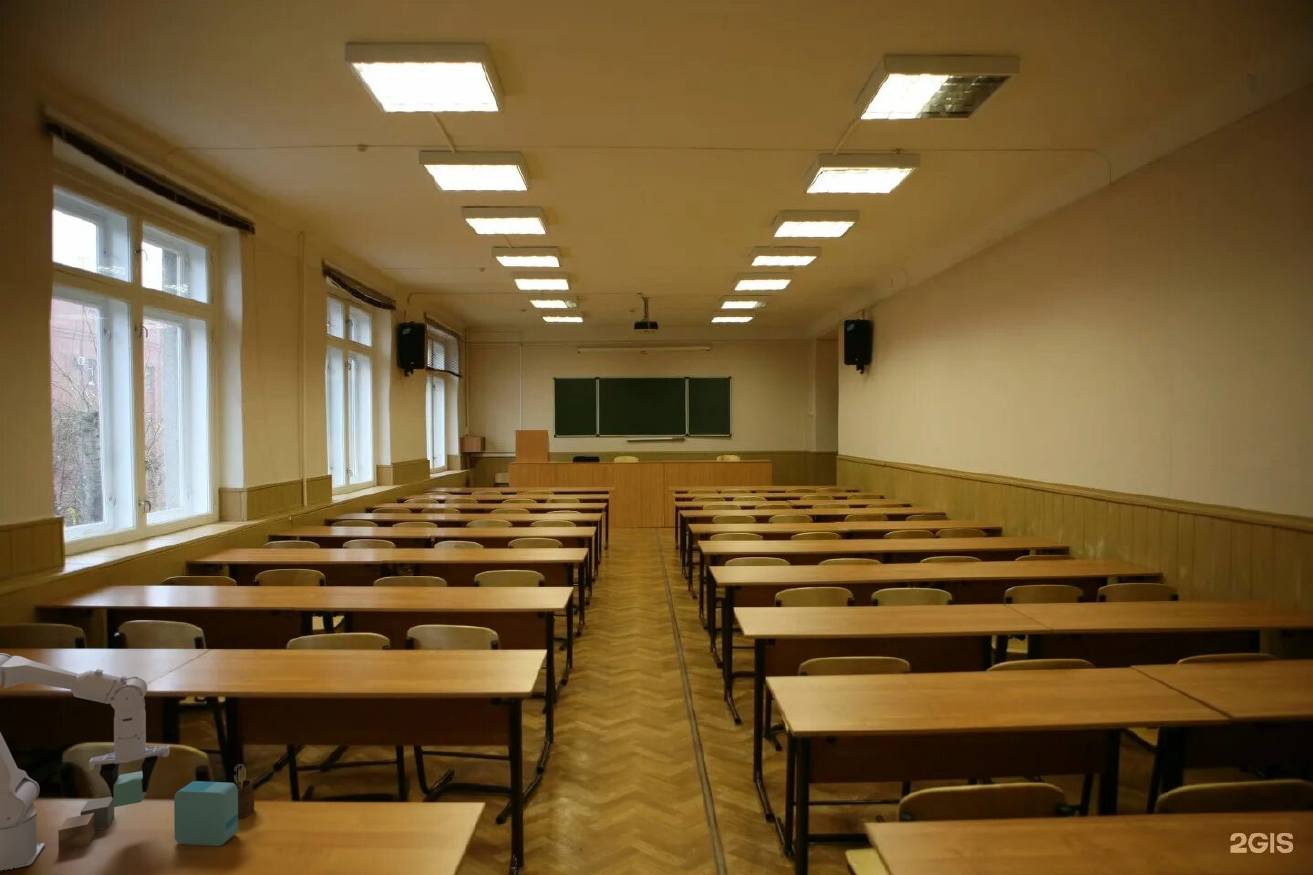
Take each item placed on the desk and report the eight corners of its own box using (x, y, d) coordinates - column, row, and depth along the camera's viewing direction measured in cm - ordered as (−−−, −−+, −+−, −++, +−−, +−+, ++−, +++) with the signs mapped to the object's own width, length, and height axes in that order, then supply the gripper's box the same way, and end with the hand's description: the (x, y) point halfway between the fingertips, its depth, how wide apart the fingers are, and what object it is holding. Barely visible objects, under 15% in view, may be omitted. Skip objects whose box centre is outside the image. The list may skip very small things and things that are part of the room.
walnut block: (58, 852, 148) (58, 830, 148) (66, 840, 152) (66, 818, 152) (87, 846, 150) (87, 824, 150) (94, 834, 155) (94, 812, 155)
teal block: (113, 807, 151) (113, 784, 151) (120, 796, 156) (119, 774, 156) (141, 801, 153) (141, 779, 153) (146, 791, 158) (146, 770, 158)
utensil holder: (251, 803, 167) (251, 755, 167) (256, 814, 162) (256, 765, 162) (223, 812, 163) (223, 762, 163) (228, 823, 159) (227, 773, 158)
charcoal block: (80, 833, 155) (80, 811, 155) (87, 821, 160) (87, 800, 160) (108, 827, 157) (107, 806, 157) (114, 816, 162) (114, 795, 162)
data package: (238, 834, 154) (238, 782, 154) (224, 846, 150) (224, 793, 150) (189, 832, 155) (189, 780, 155) (174, 844, 151) (173, 790, 151)
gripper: (172, 720, 161) (172, 777, 161) (95, 732, 155) (96, 791, 155) (165, 732, 155) (166, 791, 155) (85, 745, 149) (86, 807, 149)
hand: (130, 792), depth 155 cm, fingers closed on teal block, 5 cm apart
